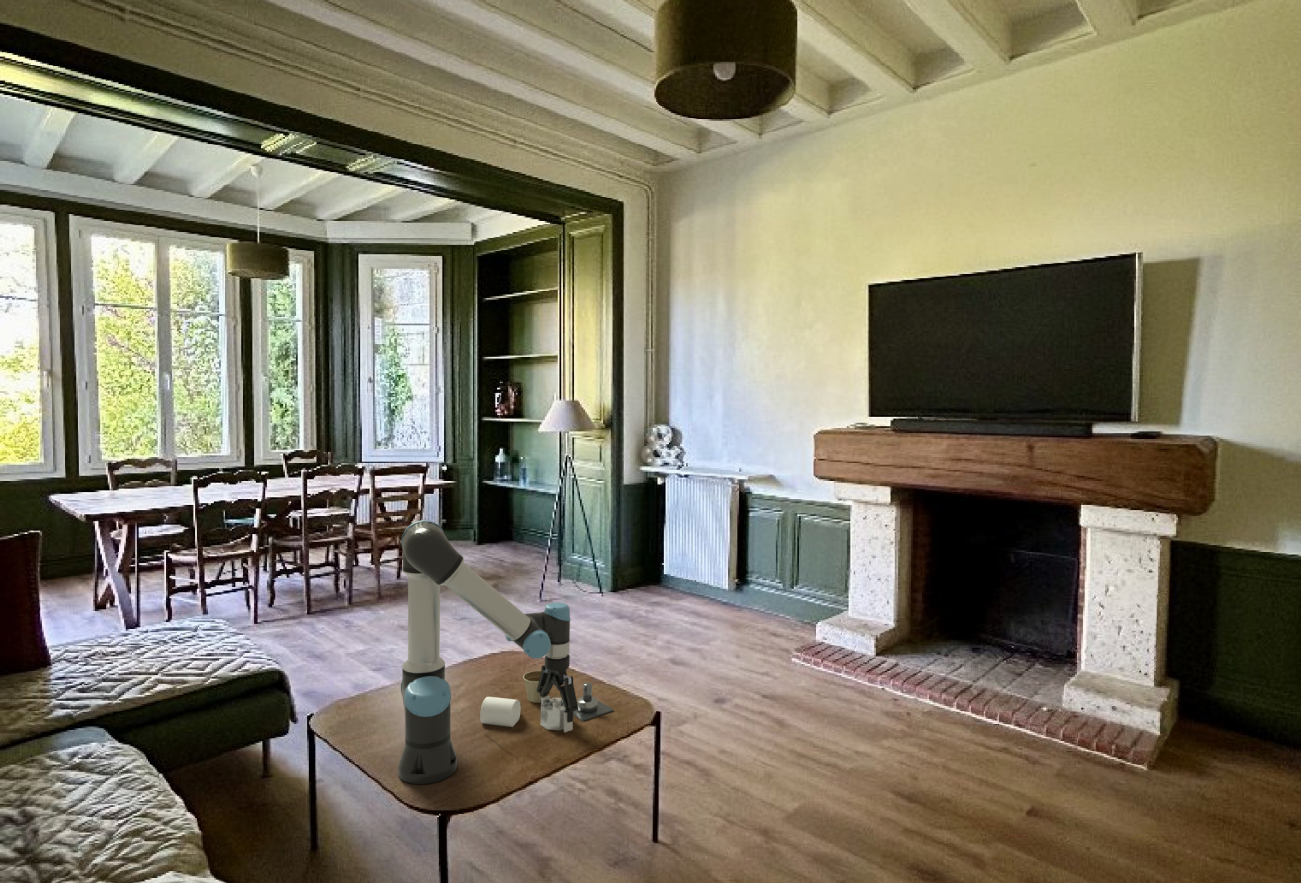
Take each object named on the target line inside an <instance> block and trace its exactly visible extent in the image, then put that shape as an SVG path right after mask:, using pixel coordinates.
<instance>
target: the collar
mask: <svg viewBox="0 0 1301 883" xmlns="http://www.w3.org/2000/svg"><path fill="white" fill-rule="evenodd" d="M554 701H560V702H561V707H553V702H554ZM568 708H569V706H568ZM564 711H566V710H565V707H564V704H563V700H562V697H552V698H551V697H550V699H547V700H544V701H543V703H542V705H541V704H540V726H541V727H543V729H546V730H552V731H561V730H564Z"/></svg>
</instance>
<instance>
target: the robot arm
mask: <svg viewBox="0 0 1301 883" xmlns="http://www.w3.org/2000/svg"><path fill="white" fill-rule="evenodd" d="M400 544H401V548H402V572H403V573H404V574H405V575H406V576H407V577H408V578H407V579H408V580H407V581H408V584H407V588H408V589H407V590H408V592H407V593H408V594H407V596H408V597H407V601H408V603H407V628H408V629H407V660H406V661H404V663H403V664H402V670H401V676H402V678H401V683H400V693H401V697H402V704H403V708H404V709H403V710H404V729H405V730H404V747H403V750H402V752H401V756H400V758H399V762H398V765H397V766H398V767H397V774H398V777H399V779H400V780H401V781H403V782H405V783H408V784H414V785H427V784H434V783H437V782H440V781H443V780H445V779H447V778H450V776H452V775H453V774H454V773H455V772H456V771H457V769H458V757H457V753H456V751H455V749H454V748H455V747H454V745H453V742H452V739H451V699H452V691H451V686H450V684H449V682H448V681H447V680H446V662H445V660H444V659H443V658H442V657H441V654H440V649H441V648H440V647H441V646H440V643H441V642H440V640H441V639H440V637H441V636H440V635H441V633H440V630H441V586H445V587H446V588H448V589H449V590H450V591H451V592H452V593H454V595H456V596H457V597H458V598H460V599H461V600H463V601H464V603H466V604H467V605H468V606H470V607H471V608H472V609H474V610H475V611H476V612H477V613H479V615H481V616H482V617H483V618H485V619H486V620H487V621H488V622H489V623H491V624H492V625H493V627H495V628H496V629H498V631H500V632H502V633H503V634H504V636H505V639H506V641H507V642H514V643H515V644H516V645H517V646H518V647H519V648H520V649H522V650H523V653H525V655H527V656H528V657H529V658H531V659H534V660H535V659H536V660H537V659H541V658H543V657H544V665H541V667H540V668H541V670H540V671H541V676H540V679H539V683H538V687H537V692H538V693H540V696H541V702H540V706H541V705H542V703H543V701H544V700H547V699H551V695H550V694H551V690H552V688H553V687H554V686H555V687H556V690H557V691H559V693H560V694H559V695H560V698H562V700H563V704H564V707H565V710H566V711H564V729H563V733H568V732H569V731H572V730H573V729H574V728H573V726H574V723H573V722H574V716H573V711H576V710H578V705H577V700H578V699H577V696H576V691H575V685H574V677H573V675H571V676H569V675H567V670H568V669H569V668H570V664H571V663H570V658H571V656H570V643H571V642H570V639H571V637H570V634H571V612H570V608H571V607H570V606H569V605H568V604H567V603H565V602H558V601H557V602H550V603H547V604H546V605H545V607H544V610H543V611H540V612H532V613H524V612H523V611H522V610H520V609H519V608H518V607H517V606H515V605H514V604H513V603H512V602H511V601H509V600H508V598H506V597H505V596H503V594H501V592H499V591H498V590H497V589H495V588H494V587H493V586H492V585H491V584H490V583H488V582H487V581H486V580H485V579H484V578H482V577H481V576H480V575H479V574H478V573H476V572H475V571H474V570H473V569H472V568H470V566H468V565H467V564H466V563H465V560H464V559H465V557H464V556H463V555H462V554H461V553H459V552H458V551H457V550H456V548H454V546H453V545H452V544H451V543H450V540H449V539H448V538H447V536H446V535H445V531H444V530H443V528H442V527H441V525H439V524H437V523H436V522H433V521H431V520H423V519H422V520H418V521H415V522H412V523H411V524H409V525H408V526H407V527H406V528H405V529H404V532H403V533H402V536H401V540H400ZM541 687H542V688H541ZM568 706H569V708H568Z"/></svg>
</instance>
